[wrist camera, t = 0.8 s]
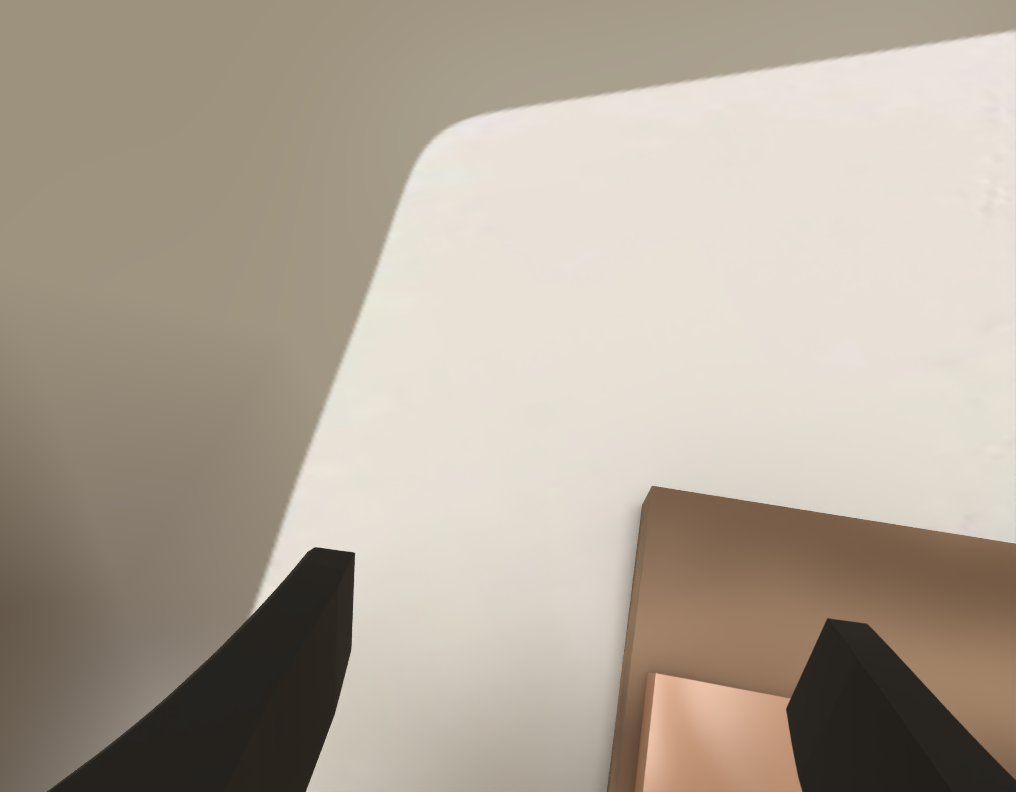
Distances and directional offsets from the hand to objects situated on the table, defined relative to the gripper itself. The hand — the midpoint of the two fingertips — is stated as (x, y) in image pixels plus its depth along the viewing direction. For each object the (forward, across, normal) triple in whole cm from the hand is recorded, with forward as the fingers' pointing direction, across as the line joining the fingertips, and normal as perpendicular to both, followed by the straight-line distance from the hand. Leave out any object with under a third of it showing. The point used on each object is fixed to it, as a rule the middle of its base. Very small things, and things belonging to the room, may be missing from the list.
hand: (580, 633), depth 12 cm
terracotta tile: (+5, -6, +10) cm, 13 cm away
